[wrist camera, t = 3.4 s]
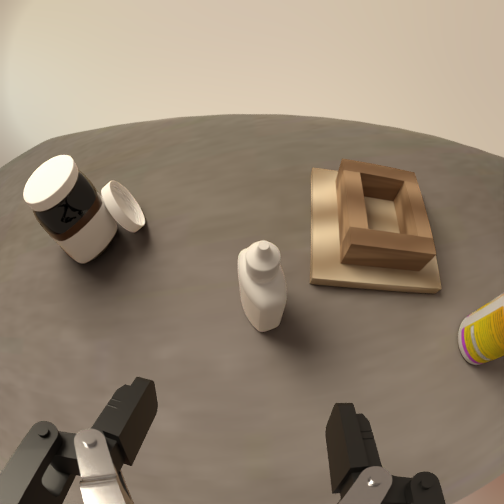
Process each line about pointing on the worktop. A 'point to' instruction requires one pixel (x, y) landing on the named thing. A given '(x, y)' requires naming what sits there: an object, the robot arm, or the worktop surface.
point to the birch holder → (371, 230)
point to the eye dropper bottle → (262, 285)
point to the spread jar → (79, 208)
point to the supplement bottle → (483, 333)
